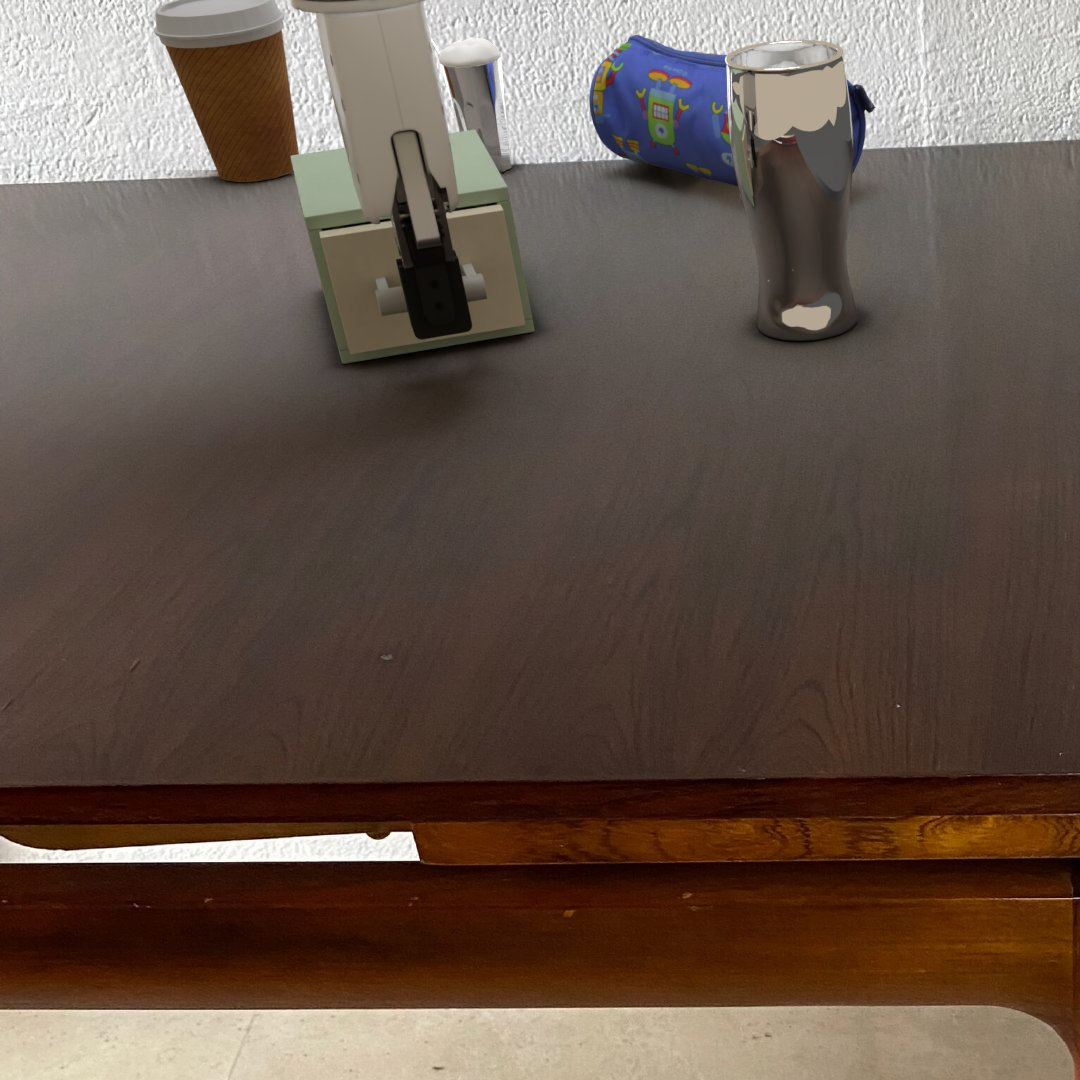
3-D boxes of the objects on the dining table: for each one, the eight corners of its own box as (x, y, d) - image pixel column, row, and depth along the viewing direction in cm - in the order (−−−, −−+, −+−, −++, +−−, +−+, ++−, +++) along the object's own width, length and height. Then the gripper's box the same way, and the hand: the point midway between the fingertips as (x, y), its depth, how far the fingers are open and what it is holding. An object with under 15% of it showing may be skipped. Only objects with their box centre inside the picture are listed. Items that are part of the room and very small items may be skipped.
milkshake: (462, 160, 136) (435, 21, 130) (528, 159, 135) (503, 19, 129) (443, 178, 132) (413, 35, 126) (510, 177, 132) (483, 34, 125)
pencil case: (883, 192, 124) (875, 46, 118) (801, 225, 119) (788, 75, 113) (674, 146, 136) (657, 12, 130) (591, 175, 131) (569, 37, 125)
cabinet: (535, 332, 106) (507, 186, 100) (342, 364, 103) (303, 216, 98) (501, 264, 116) (475, 129, 111) (325, 292, 113) (290, 155, 108)
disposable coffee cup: (302, 185, 133) (258, 14, 125) (181, 192, 133) (129, 21, 126) (335, 150, 140) (295, -14, 133) (220, 156, 141) (173, -7, 133)
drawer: (537, 349, 101) (514, 230, 97) (356, 380, 99) (325, 260, 94) (495, 263, 114) (473, 154, 109) (334, 288, 111) (305, 178, 107)
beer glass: (756, 304, 107) (728, 41, 98) (867, 300, 107) (850, 35, 98) (744, 346, 102) (714, 72, 93) (862, 342, 102) (843, 66, 92)
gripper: (274, -52, 90) (362, 299, 101) (293, 2, 79) (389, 390, 90) (420, -69, 92) (489, 279, 103) (458, -18, 80) (532, 365, 92)
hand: (442, 330), depth 97 cm, fingers closed
